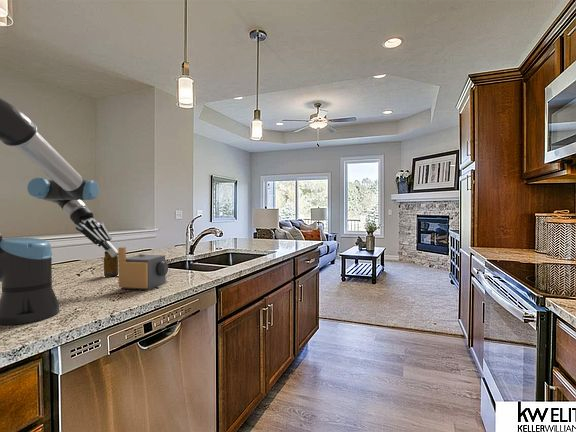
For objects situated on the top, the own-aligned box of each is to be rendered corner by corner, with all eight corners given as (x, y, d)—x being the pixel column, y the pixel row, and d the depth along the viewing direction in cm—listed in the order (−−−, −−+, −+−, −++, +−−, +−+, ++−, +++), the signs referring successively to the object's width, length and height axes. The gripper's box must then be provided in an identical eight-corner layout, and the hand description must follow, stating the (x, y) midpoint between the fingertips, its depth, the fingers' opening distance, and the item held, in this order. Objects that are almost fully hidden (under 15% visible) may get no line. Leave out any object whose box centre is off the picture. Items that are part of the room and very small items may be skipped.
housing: (153, 290, 125) (152, 257, 125) (121, 288, 128) (121, 257, 127) (169, 283, 137) (169, 253, 137) (140, 281, 140) (140, 252, 139)
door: (146, 288, 124) (145, 248, 124) (118, 287, 126) (118, 247, 126) (148, 287, 125) (147, 247, 125) (120, 286, 127) (120, 247, 127)
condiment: (106, 274, 155) (105, 250, 155) (125, 274, 157) (124, 249, 156) (100, 277, 148) (100, 252, 148) (120, 277, 149) (119, 251, 149)
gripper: (85, 218, 136) (120, 258, 134) (59, 219, 123) (97, 263, 121) (96, 206, 135) (132, 246, 133) (71, 206, 122) (109, 250, 120)
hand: (115, 254), depth 127 cm, fingers closed
